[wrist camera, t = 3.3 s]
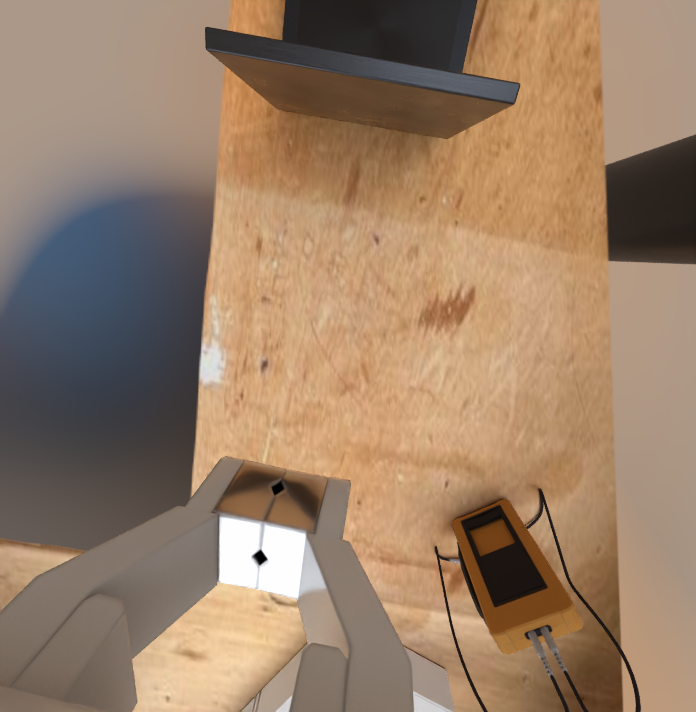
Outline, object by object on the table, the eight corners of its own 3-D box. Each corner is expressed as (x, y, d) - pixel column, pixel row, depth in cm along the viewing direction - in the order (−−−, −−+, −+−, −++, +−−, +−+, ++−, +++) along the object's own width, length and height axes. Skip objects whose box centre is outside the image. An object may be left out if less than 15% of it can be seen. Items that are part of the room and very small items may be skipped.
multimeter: (455, 586, 44) (532, 841, 25) (421, 531, 42) (479, 767, 23) (566, 543, 42) (744, 787, 23) (537, 482, 40) (709, 698, 20)
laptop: (301, -117, 25) (296, -149, 23) (488, -80, 25) (500, -109, 23) (282, 106, 29) (277, 95, 27) (444, 134, 30) (451, 125, 28)
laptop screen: (204, 22, 15) (204, 49, 15) (522, 79, 15) (515, 104, 16) (277, 95, 27) (276, 109, 28) (450, 126, 28) (447, 139, 28)
